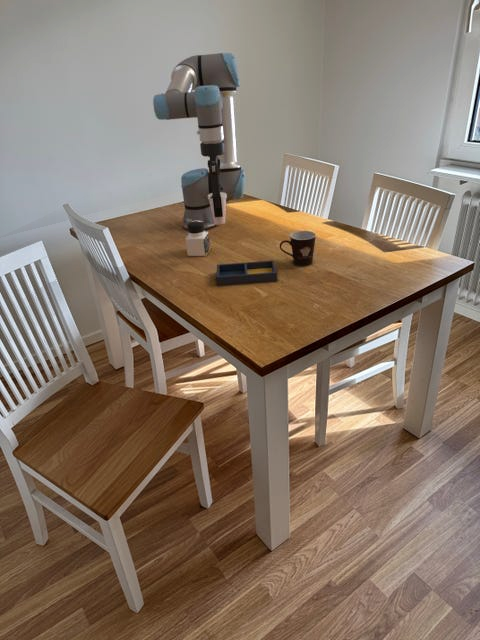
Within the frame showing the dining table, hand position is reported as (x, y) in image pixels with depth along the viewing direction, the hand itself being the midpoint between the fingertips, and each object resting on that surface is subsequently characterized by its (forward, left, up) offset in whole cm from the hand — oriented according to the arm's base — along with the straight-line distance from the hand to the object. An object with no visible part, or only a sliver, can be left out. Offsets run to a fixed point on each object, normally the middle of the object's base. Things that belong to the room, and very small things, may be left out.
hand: (218, 213), depth 154 cm
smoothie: (0, 0, -4) cm, 4 cm away
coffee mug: (-6, +26, -18) cm, 32 cm away
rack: (+9, +12, -18) cm, 24 cm away
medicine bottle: (-7, -13, -18) cm, 23 cm away
